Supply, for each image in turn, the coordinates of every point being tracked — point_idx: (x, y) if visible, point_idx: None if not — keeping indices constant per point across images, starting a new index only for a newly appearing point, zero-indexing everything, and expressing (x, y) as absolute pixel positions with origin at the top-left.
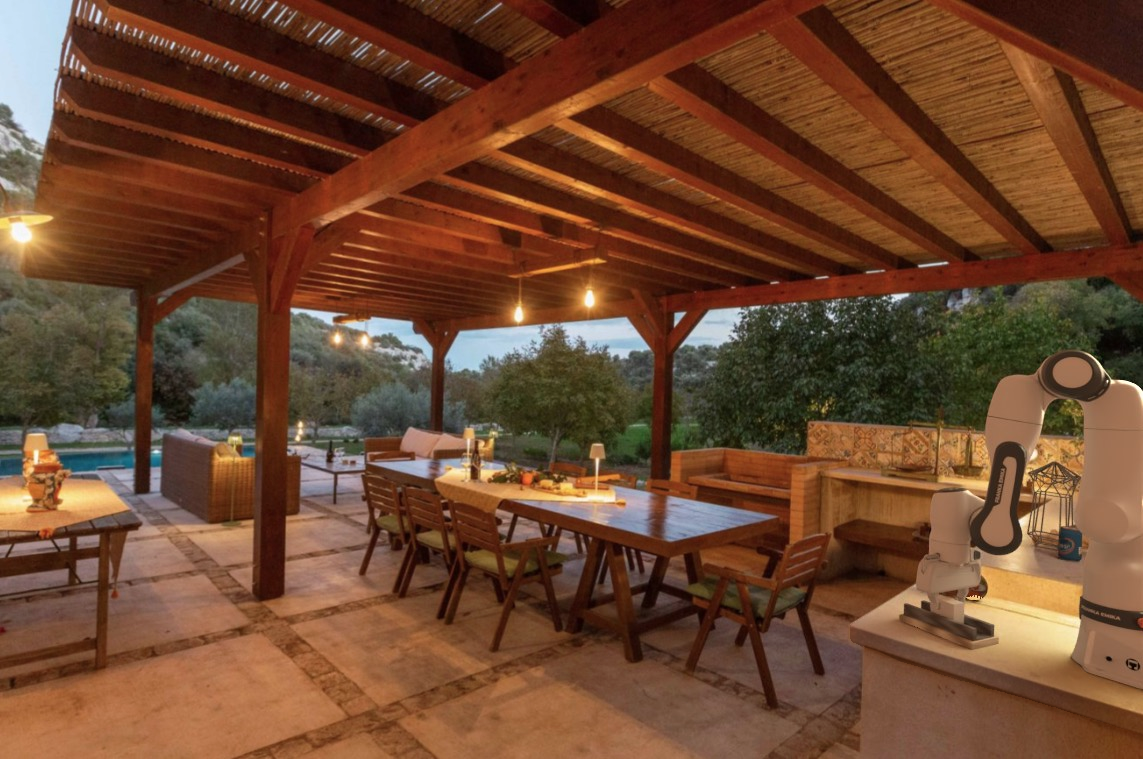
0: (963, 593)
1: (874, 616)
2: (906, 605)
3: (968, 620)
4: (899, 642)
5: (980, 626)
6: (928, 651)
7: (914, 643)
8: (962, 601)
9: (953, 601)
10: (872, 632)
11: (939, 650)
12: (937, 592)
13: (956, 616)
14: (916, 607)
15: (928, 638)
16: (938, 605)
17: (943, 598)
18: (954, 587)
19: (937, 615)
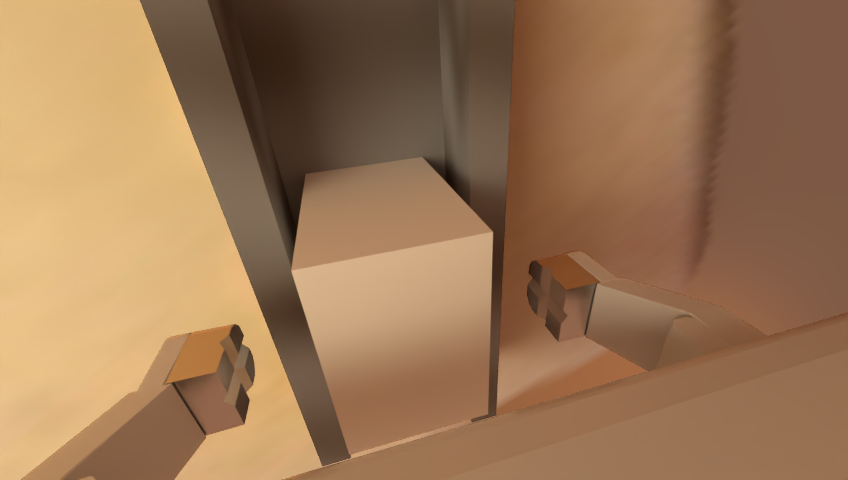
0: (116, 464)
1: (531, 382)
2: (494, 401)
3: (268, 175)
4: (716, 151)
5: (237, 54)
6: (728, 17)
7: (677, 125)
8: (202, 354)
9: (394, 316)
10: (692, 256)
11: (671, 6)
12: (823, 325)
13: (411, 190)
14: None
15: (559, 160)
16: (584, 271)
17: (418, 385)
18: (492, 470)
19: (492, 256)
